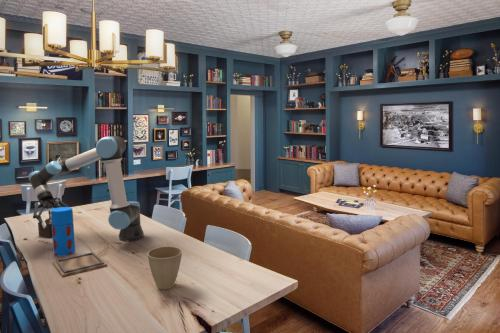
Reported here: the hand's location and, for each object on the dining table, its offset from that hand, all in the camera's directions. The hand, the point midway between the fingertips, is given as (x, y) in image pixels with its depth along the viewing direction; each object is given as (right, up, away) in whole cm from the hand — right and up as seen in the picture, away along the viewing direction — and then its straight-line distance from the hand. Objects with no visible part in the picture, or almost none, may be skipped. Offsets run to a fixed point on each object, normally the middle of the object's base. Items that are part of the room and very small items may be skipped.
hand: (57, 224), depth 209 cm
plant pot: (+70, -22, -41) cm, 84 cm away
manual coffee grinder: (-19, -12, +34) cm, 41 cm away
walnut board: (+20, -18, -17) cm, 32 cm away
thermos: (+4, -16, 0) cm, 17 cm away
